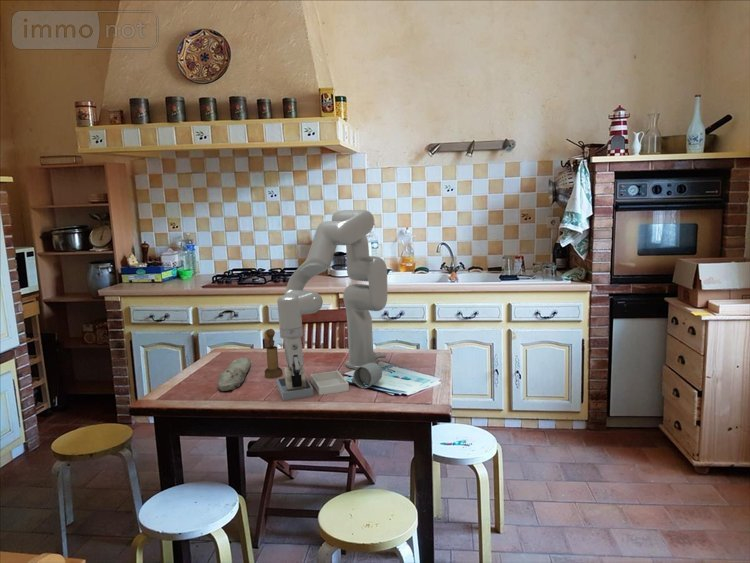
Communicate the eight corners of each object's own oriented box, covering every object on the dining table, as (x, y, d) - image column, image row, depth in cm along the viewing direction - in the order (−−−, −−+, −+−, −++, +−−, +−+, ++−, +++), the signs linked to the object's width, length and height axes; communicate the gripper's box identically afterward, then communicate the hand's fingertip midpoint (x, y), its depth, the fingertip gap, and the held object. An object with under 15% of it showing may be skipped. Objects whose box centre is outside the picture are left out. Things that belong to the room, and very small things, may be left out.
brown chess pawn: (278, 379, 203) (275, 331, 201) (261, 379, 205) (258, 331, 202) (285, 373, 210) (281, 327, 207) (268, 373, 211) (265, 327, 208)
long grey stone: (256, 365, 227) (231, 368, 226) (254, 353, 226) (230, 356, 226) (242, 390, 192) (213, 394, 192) (240, 375, 192) (211, 379, 191)
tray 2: (338, 378, 202) (337, 370, 201) (348, 391, 188) (348, 383, 187) (310, 382, 199) (310, 374, 198) (319, 396, 185) (319, 387, 184)
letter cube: (302, 381, 194) (301, 363, 193) (306, 386, 188) (304, 369, 187) (285, 383, 192) (284, 366, 191) (288, 389, 186) (286, 371, 185)
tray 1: (305, 383, 198) (304, 375, 198) (313, 397, 184) (313, 388, 184) (277, 387, 195) (276, 378, 195) (283, 401, 181) (282, 392, 181)
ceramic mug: (384, 382, 196) (383, 361, 194) (372, 389, 189) (370, 367, 188) (359, 379, 201) (357, 358, 200) (346, 386, 194) (344, 364, 193)
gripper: (307, 336, 180) (311, 390, 183) (297, 324, 196) (301, 374, 199) (283, 339, 177) (288, 393, 181) (276, 327, 194) (280, 377, 197)
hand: (295, 382), depth 190 cm, fingers closed on letter cube, 6 cm apart
